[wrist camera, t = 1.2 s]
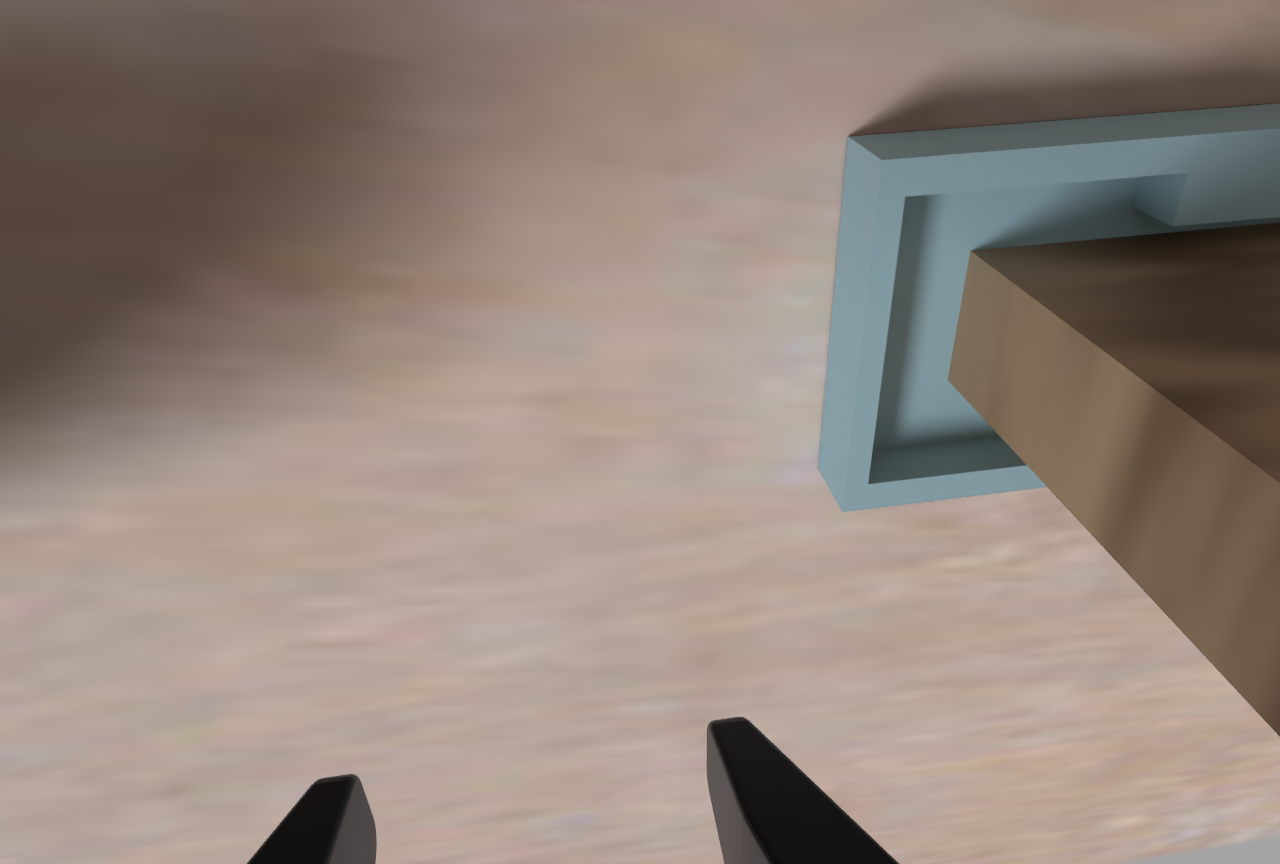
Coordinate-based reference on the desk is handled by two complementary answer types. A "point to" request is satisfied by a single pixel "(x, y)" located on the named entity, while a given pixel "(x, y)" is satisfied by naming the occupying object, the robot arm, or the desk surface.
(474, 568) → the desk surface
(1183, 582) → the brown wooden block
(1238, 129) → the slot base
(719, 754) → the robot arm
